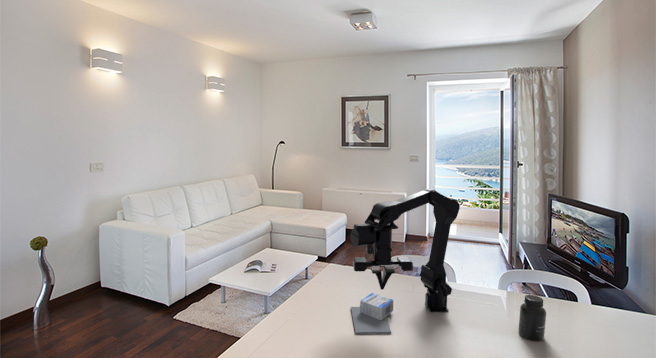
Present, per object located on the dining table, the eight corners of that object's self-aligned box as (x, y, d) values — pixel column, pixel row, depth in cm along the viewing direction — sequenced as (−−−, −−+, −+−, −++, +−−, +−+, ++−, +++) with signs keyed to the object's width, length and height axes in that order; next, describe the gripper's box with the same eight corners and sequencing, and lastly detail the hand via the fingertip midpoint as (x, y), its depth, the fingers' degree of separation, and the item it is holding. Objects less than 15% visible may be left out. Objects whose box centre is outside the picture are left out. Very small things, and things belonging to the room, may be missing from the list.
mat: (381, 308, 122) (381, 306, 122) (391, 333, 106) (391, 331, 106) (350, 308, 122) (350, 306, 122) (355, 334, 106) (355, 332, 106)
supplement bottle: (544, 344, 101) (547, 305, 99) (517, 337, 104) (520, 299, 103) (544, 333, 106) (547, 296, 105) (518, 327, 110) (521, 291, 109)
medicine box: (382, 308, 112) (359, 300, 117) (381, 321, 112) (359, 312, 118) (393, 299, 118) (371, 292, 123) (393, 311, 118) (371, 304, 124)
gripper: (405, 235, 119) (404, 278, 121) (351, 236, 119) (351, 279, 121) (414, 245, 108) (412, 292, 110) (354, 246, 108) (354, 293, 110)
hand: (381, 289), depth 113 cm, fingers closed
